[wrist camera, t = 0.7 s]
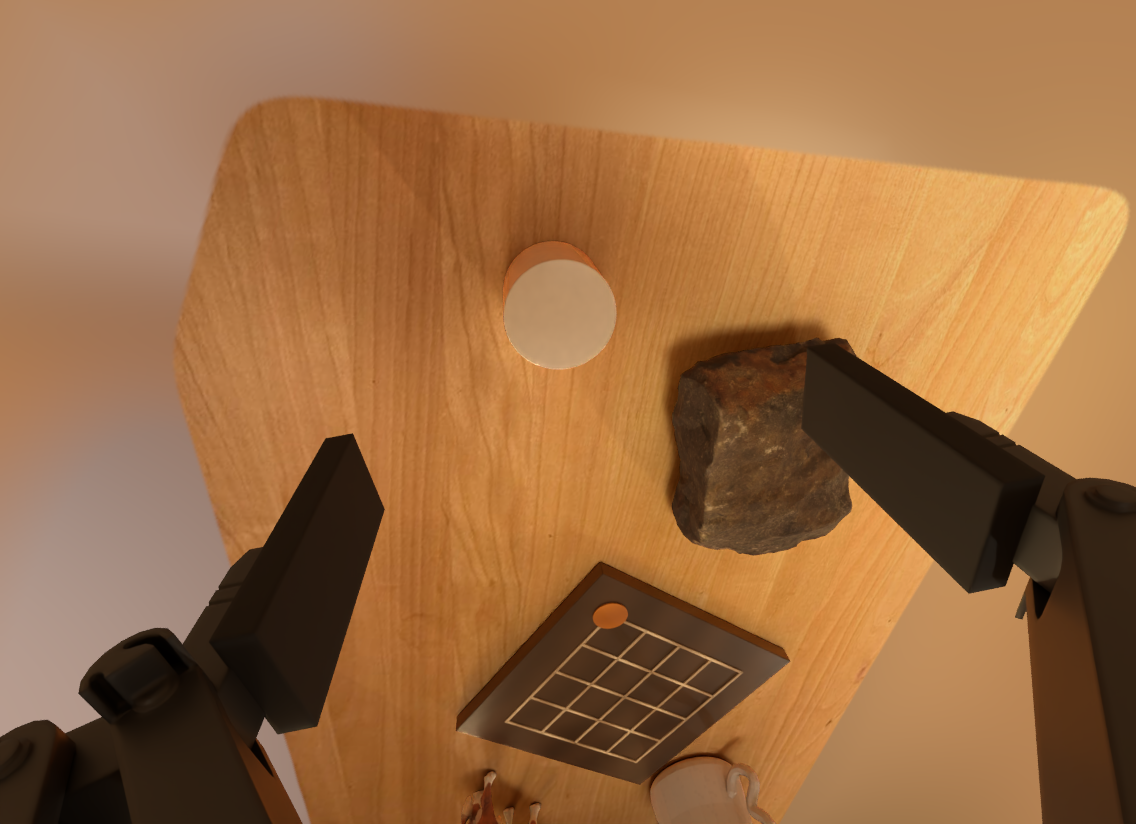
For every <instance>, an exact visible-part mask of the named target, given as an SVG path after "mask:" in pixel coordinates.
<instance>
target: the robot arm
mask: <svg viewBox="0 0 1136 824" xmlns="http://www.w3.org/2000/svg"><path fill="white" fill-rule="evenodd" d="M801 429H802V430H803V431H804V432H805V433H806V434H807V435H808V436H809V437H810V438H811V439H812V440H813V441H814V442H815V443H816V444H817V445H818V446H819V447H820V448H821V449H822V450H823V451H824V452H825V453H826V454H827V455H828V456H829V457H831V458H832V459H833V460H834V461H835V462H836V463H837V464H838V465H839V466H840V467H841V468H842V469H843V470H844V471H845V472H846V473H847V474H848V475H849V476H850V477H851V478H852V479H853V480H854V481H855V482H856V483H857V484H858V485H859V486H860V487H861V488H862V489H863V490H864V491H865V492H866V493H867V494H868V495H869V496H870V497H871V498H872V499H873V500H874V501H875V502H876V503H877V504H878V505H879V506H880V507H881V508H882V509H883V510H884V511H885V512H886V513H887V514H888V515H889V516H890V517H891V518H892V519H893V520H894V521H895V522H896V523H898V524H899V525H900V526H901V527H902V528H903V529H904V530H905V531H906V532H907V533H908V534H909V535H910V536H911V537H912V538H913V539H914V540H915V541H916V542H917V543H918V544H919V545H920V546H921V547H922V548H923V549H924V550H925V551H926V552H927V553H928V554H929V555H930V556H931V557H932V558H933V559H934V560H935V561H936V562H937V563H938V564H939V565H940V566H941V567H942V568H943V569H944V570H945V571H946V572H947V573H948V574H949V575H950V576H951V577H952V578H953V579H954V580H955V581H956V582H957V583H958V584H959V585H960V586H962V588H964V589H965V590H966V591H967V592H968V593H974V592H979V591H984V590H989V589H994V588H999V587H1003V586H1005V585H1006V583H1007V580H1008V578H1009V575H1010V572H1011V569H1012V567H1013V564H1015V565H1017V566H1018V567H1019V568H1020V569H1021V570H1022V571H1024V572H1025V573H1026V574H1027V575H1029V576H1030V579H1029V582H1028V584H1027V586H1026V589H1025V592H1024V594H1023V597H1022V599H1021V602H1020V604H1019V607H1018V609H1017V613H1016V616H1015V617H1016V618H1019V619H1023V616H1024V614H1025V612H1027V620H1028V634H1029V647H1030V659H1031V660H1030V661H1031V674H1032V687H1033V700H1034V713H1035V727H1036V741H1037V754H1038V768H1039V781H1040V794H1041V807H1042V821H1043V824H1136V487H1134V486H1131V485H1129V484H1125V483H1121V482H1117V481H1113V480H1109V479H1098V478H1085V479H1084V478H1083V479H1075V478H1074V477H1072V476H1070V475H1069V474H1067V473H1065V472H1063V471H1062V470H1060V469H1059V468H1057V467H1055V466H1054V465H1052V464H1050V463H1049V462H1047V461H1045V460H1044V459H1042V458H1040V457H1039V456H1037V455H1035V454H1034V453H1032V452H1030V451H1029V450H1027V449H1026V448H1024V447H1022V446H1021V445H1016V444H1015V442H1014V441H1012V440H1010V439H1009V438H1007V437H1006V436H1004V435H999V432H997V431H996V430H994V429H992V428H991V427H989V426H987V425H986V424H984V423H982V422H981V421H979V420H976V419H973V418H970V417H967V416H965V415H962V414H959V413H956V412H948V413H945V412H943V411H942V410H940V409H939V408H937V407H935V406H934V405H932V404H931V403H929V402H928V401H926V400H924V399H923V398H921V397H920V396H918V395H916V394H915V393H913V392H912V391H910V390H908V389H907V388H905V387H904V386H902V385H901V384H899V383H897V382H896V381H894V380H893V379H891V378H889V377H888V376H886V375H885V374H883V373H881V372H880V371H878V370H877V369H875V368H873V367H872V366H870V365H869V364H867V363H866V362H864V361H862V360H861V359H859V358H858V357H856V356H854V355H853V354H851V353H850V352H848V351H846V350H845V349H843V348H842V347H840V346H839V345H837V344H835V343H834V342H832V343H827V344H821V345H816V346H811V347H807V359H806V372H805V385H804V399H803V412H802V425H801ZM384 510H385V509H384V507H383V504H382V502H381V500H380V497H379V495H378V492H377V490H376V488H375V485H374V483H373V480H372V478H371V476H370V473H369V471H368V468H367V466H366V464H365V461H364V459H363V456H362V454H361V452H360V449H359V447H358V444H357V442H356V440H355V437H354V435H353V433H352V434H347V435H342V436H336V437H331V438H326V439H325V441H324V442H323V444H322V446H321V448H320V449H319V451H318V453H317V454H316V456H315V458H314V460H313V461H312V463H311V465H310V467H309V468H308V470H307V472H306V474H305V475H304V477H303V479H302V481H301V482H300V484H299V486H298V487H297V489H296V491H295V493H294V494H293V496H292V498H291V500H290V501H289V503H288V505H287V507H286V508H285V510H284V512H283V513H282V515H281V517H280V519H279V520H278V522H277V524H276V526H275V527H274V529H273V531H272V533H271V534H270V536H269V538H268V540H267V541H266V543H265V545H264V546H263V547H261V548H256V549H250V550H249V551H248V552H247V553H245V554H244V555H243V556H242V557H241V558H240V559H239V560H238V561H237V562H236V563H235V564H234V565H233V566H232V567H231V568H230V569H229V571H228V572H227V574H226V576H225V577H224V579H223V580H222V582H221V584H220V585H219V590H217V591H216V592H215V593H214V595H213V596H212V598H211V600H210V601H209V606H206V608H205V609H204V611H203V612H202V614H201V616H200V617H199V619H198V620H197V622H196V624H195V625H194V627H193V628H192V630H191V632H190V633H189V635H188V636H187V638H186V640H185V641H184V643H183V644H182V643H181V642H180V641H179V640H178V638H177V637H176V636H175V635H174V633H172V632H171V631H170V630H169V629H167V628H153V629H150V630H146V631H142V632H139V633H137V634H135V635H133V636H131V637H129V638H127V639H125V640H123V641H121V642H120V643H119V644H117V645H116V646H114V647H113V648H111V649H110V650H108V651H107V652H106V653H104V654H103V655H102V656H101V657H100V658H99V659H98V660H97V661H96V662H95V663H94V664H93V665H92V666H91V667H90V668H89V670H88V671H87V673H86V674H85V676H84V677H83V679H82V680H81V683H80V688H79V695H81V697H82V698H84V699H85V700H86V701H87V702H88V703H89V704H90V705H91V706H92V707H93V708H94V709H95V710H96V711H97V712H98V713H99V714H100V715H101V716H102V717H101V718H99V719H96V720H94V721H92V722H90V723H87V724H85V725H83V726H81V727H79V728H76V729H74V730H72V731H70V732H67V733H64V732H63V731H62V730H61V729H59V728H58V727H57V726H56V725H55V724H54V723H52V722H50V721H48V720H41V721H33V722H30V723H27V724H25V725H22V726H20V727H17V728H15V729H13V730H12V731H10V732H8V733H7V734H5V735H3V736H2V737H0V824H302V822H301V820H300V818H299V816H298V814H297V812H296V810H295V808H294V806H293V804H292V802H291V800H290V798H289V796H288V794H287V792H286V790H285V789H284V787H283V785H282V783H281V781H280V779H279V777H278V775H277V773H276V771H275V769H274V767H273V765H272V763H271V761H270V760H269V757H268V755H267V753H266V751H265V750H264V748H263V746H262V745H261V744H260V742H259V741H258V740H257V738H256V737H257V735H258V732H259V730H260V727H261V725H262V722H263V720H264V717H265V718H266V719H267V721H268V722H269V723H270V725H271V726H272V727H273V729H274V730H275V731H276V733H277V734H282V733H287V732H292V731H297V730H302V729H307V728H312V727H316V726H317V725H318V722H319V719H320V715H321V712H322V709H323V706H324V703H325V699H326V696H327V693H328V690H329V686H330V683H331V680H332V677H333V674H334V670H335V667H336V664H337V661H338V658H339V654H340V651H341V648H342V645H343V641H344V638H345V635H346V632H347V629H348V625H349V622H350V619H351V616H352V613H353V609H354V606H355V603H356V600H357V596H358V593H359V590H360V587H361V584H362V580H363V577H364V574H365V571H366V568H367V564H368V561H369V558H370V555H371V551H372V548H373V545H374V542H375V539H376V535H377V532H378V529H379V526H380V523H381V519H382V516H383V513H384Z"/></svg>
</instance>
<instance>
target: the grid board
mask: <svg viewBox="0 0 1136 824" xmlns="http://www.w3.org/2000/svg"><path fill="white" fill-rule="evenodd" d="M789 662H790V660H789V658H788V656H787V654H786V652H785V651H784V649H782V648H780V647H778V646H776V645H774V644H772V643H770V642H767V641H765V640H763V639H761V638H759V637H757V636H755V635H753V634H751V633H749V632H746V631H744V630H742V629H740V628H738V627H736V626H734V625H732V624H730V623H727V622H725V621H723V620H721V619H719V618H717V617H715V616H713V615H711V614H709V613H706V612H704V611H702V610H700V609H698V608H696V607H694V606H692V605H690V604H688V603H685V602H683V601H681V600H679V599H677V598H675V597H673V596H671V595H669V594H667V593H664V592H662V591H660V590H658V589H656V588H654V587H652V586H650V585H648V584H646V583H643V582H641V581H639V580H637V579H635V578H633V577H631V576H629V575H627V574H625V573H622V572H620V571H618V570H616V569H614V568H612V567H610V566H608V565H606V564H604V563H601V562H600V563H599V564H598V565H597V566H596V567H595V568H594V569H593V570H592V571H591V572H590V573H589V575H588V576H587V577H586V578H585V579H584V580H583V581H582V582H581V583H580V584H579V585H578V586H577V588H576V589H575V590H574V591H573V592H572V593H571V594H570V595H569V596H568V597H567V598H566V599H565V601H564V602H563V603H562V604H561V605H560V606H559V607H558V608H557V609H556V610H555V611H554V612H553V614H552V615H551V616H550V617H549V618H548V619H547V620H546V621H545V622H544V623H543V624H542V625H541V627H540V628H539V629H538V630H537V631H536V632H535V633H534V634H533V635H532V636H531V637H530V639H529V640H528V641H527V642H526V643H525V644H524V645H523V646H522V647H521V648H520V649H519V650H518V652H517V653H516V654H515V655H514V656H513V657H512V658H511V659H510V660H509V661H508V662H507V663H506V665H505V666H504V667H503V668H502V669H501V670H500V671H499V672H498V673H497V674H496V675H495V676H494V678H493V679H492V680H491V681H490V682H489V683H488V684H487V685H486V686H485V687H484V688H483V689H482V691H481V692H480V693H479V694H478V695H477V696H476V697H475V698H474V699H473V700H472V701H471V702H470V704H469V705H468V706H467V707H466V708H465V709H464V710H463V711H462V712H461V713H460V714H459V715H458V717H457V723H456V731H458V732H461V733H465V734H468V735H471V736H475V737H478V738H482V739H485V740H489V741H492V742H495V743H499V744H502V745H506V746H509V747H513V748H516V749H519V750H523V751H526V752H530V753H533V754H537V755H540V756H543V757H547V758H550V759H554V760H557V761H560V762H564V763H567V764H571V765H574V766H578V767H581V768H584V769H588V770H591V771H595V772H598V773H602V774H605V775H608V776H612V777H615V778H619V779H622V780H626V781H629V782H632V783H636V784H639V785H640V784H641V783H643V782H644V781H645V780H646V779H648V778H649V777H650V776H651V775H652V774H654V773H655V772H656V771H657V770H659V769H660V768H661V767H662V766H663V765H665V764H666V763H667V762H668V761H669V760H671V759H672V758H673V757H674V756H676V755H677V754H678V753H679V752H680V751H682V750H683V749H684V748H685V747H687V746H688V745H689V744H690V743H691V742H693V741H694V740H695V739H696V738H698V737H699V736H700V735H701V734H702V733H704V732H705V731H706V730H707V729H708V728H710V727H711V726H712V725H713V724H715V723H716V722H717V721H718V720H719V719H721V718H722V717H723V716H724V715H726V714H727V713H728V712H729V711H730V710H732V709H733V708H734V707H735V706H737V705H738V704H739V703H740V702H741V701H743V700H744V699H745V698H746V697H748V696H749V695H750V694H751V693H752V692H754V691H755V690H756V689H757V688H758V687H760V686H761V685H762V684H763V683H765V682H766V681H767V680H768V679H769V678H771V677H772V676H773V675H774V674H776V673H777V672H778V671H779V670H780V669H782V668H783V667H784V666H785V665H787V664H788V663H789Z"/></svg>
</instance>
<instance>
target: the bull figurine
mask: <svg viewBox="0 0 1136 824" xmlns="http://www.w3.org/2000/svg"><path fill="white" fill-rule="evenodd" d="M496 775H497V773H496V772H494V771H491V772H489V773H488V774H487V775H486V776H485V777H484V782H485V785H484V790H482V791H477V792H476V793H475V792H474V794H473V796H474V802H472V798H471V796H468V797H467V799H466V800H465V804H464V806H463V809H462V824H465V823H466V821H467V820H468V819H469V823H468V824H503V823H502V819H501V816H499V815H498V816H497V819H496V818H495V815H494V810H493V805H492V801H491V785H492V782H493V780H494V779H495V777H496ZM480 805H481V806H482V808H481V809H479V808H480ZM540 808H541V804H540V803H535V804H533V805H530V816H531V817H530V821H529V823H528V824H537V815H538V812H539V810H540ZM503 814H504V816H505V820H506V823H507V824H512V819H513V814H514V808H513V807H510V808H506V809H505V810H504V813H503Z"/></svg>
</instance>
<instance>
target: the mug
mask: <svg viewBox="0 0 1136 824" xmlns="http://www.w3.org/2000/svg"><path fill="white" fill-rule="evenodd" d="M739 775H743V776H746V777H747V778H748V780H749V786H748V791H747V797H746V799H745V795H744V791H743V788H742V784H741V781H740V778H739ZM759 789H760V782H759V779H758V776H757V774H756V773H755V772H754V771H753V770H752V769H751V767H750V766H748V765H745V764H743V763H740V764H734V765H733V766H732V765H731V764H729V763H728V762H726V761H724V760H722V759H719V758H715V757H695V758H690V759H685V760H683V761H680V762H677V763H675V764H673V765H671V766H669V767H667V768H666V769H664V770H663V771H662V772H661V773H659V775H658V776H657V777H656V778H655V780H654V782H653V784H652V786H651V789H650V795H651V803H652V807H653V810H654V813H655V816H656V819H657V822H658V824H752V821H751V818H750V815H751V816H752V817H753V818H754V819H756V820H758V821H760V822H761V823H763V824H776V823H775V822H774V821H773V819H772V818H771V816H770V815H769V814H768V813H767V812H765V811H764V810H763V809H761V808H759V807H757V800H758V795H759ZM749 814H750V815H749Z"/></svg>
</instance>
